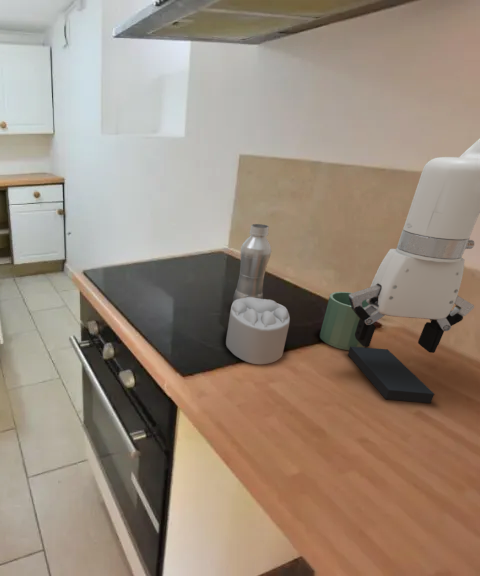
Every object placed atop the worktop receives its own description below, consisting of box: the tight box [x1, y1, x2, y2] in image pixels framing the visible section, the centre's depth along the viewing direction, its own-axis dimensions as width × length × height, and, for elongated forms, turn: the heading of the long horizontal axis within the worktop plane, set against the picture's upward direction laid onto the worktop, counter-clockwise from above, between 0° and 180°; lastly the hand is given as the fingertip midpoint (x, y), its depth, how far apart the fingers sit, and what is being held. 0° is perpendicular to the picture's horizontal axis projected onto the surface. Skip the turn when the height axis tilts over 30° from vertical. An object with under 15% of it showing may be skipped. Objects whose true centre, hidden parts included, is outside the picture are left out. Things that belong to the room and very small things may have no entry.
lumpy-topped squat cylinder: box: [225, 297, 291, 365], centre depth 72 cm, size 10×13×9 cm
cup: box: [319, 291, 375, 351], centre depth 74 cm, size 8×8×9 cm
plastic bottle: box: [232, 223, 272, 303], centre depth 85 cm, size 6×7×20 cm
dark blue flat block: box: [347, 347, 435, 404], centre depth 65 cm, size 6×13×2 cm, turn 171°
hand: (393, 345), depth 63 cm, fingers open, 9 cm apart
